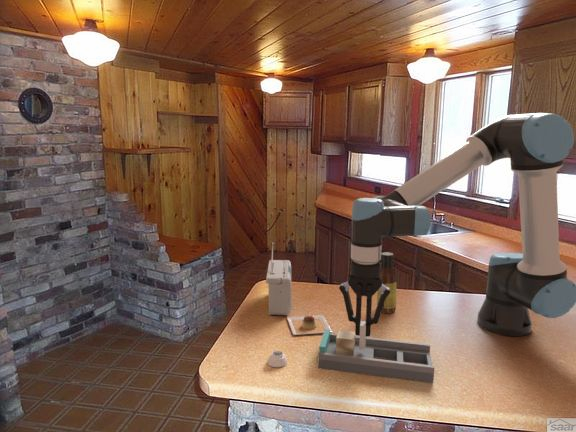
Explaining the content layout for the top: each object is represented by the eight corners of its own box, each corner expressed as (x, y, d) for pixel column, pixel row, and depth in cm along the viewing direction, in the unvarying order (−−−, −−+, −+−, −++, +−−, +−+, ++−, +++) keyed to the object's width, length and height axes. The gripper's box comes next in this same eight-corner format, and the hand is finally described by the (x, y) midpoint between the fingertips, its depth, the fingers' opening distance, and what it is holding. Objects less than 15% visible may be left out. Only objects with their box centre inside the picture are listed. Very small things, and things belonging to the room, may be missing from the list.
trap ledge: (428, 357, 115) (430, 338, 114) (433, 382, 104) (434, 362, 103) (325, 345, 121) (325, 327, 120) (318, 368, 110) (318, 348, 109)
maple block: (354, 347, 115) (355, 331, 114) (353, 355, 111) (353, 339, 110) (337, 345, 116) (338, 330, 115) (335, 353, 112) (336, 337, 111)
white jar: (276, 356, 116) (263, 364, 112) (276, 346, 115) (263, 353, 111) (290, 362, 113) (278, 370, 109) (290, 352, 112) (278, 360, 108)
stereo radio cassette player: (291, 317, 140) (291, 258, 136) (265, 317, 140) (265, 258, 136) (291, 293, 160) (291, 241, 156) (269, 293, 160) (269, 241, 156)
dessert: (332, 335, 129) (333, 320, 128) (293, 338, 127) (293, 323, 126) (322, 318, 140) (323, 304, 139) (286, 320, 138) (286, 306, 137)
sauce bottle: (398, 309, 146) (401, 252, 142) (392, 315, 141) (395, 257, 137) (379, 305, 150) (382, 249, 146) (373, 311, 144) (375, 254, 141)
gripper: (392, 257, 110) (388, 342, 115) (341, 254, 113) (339, 337, 118) (392, 266, 103) (387, 356, 107) (337, 262, 106) (335, 350, 110)
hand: (362, 346), depth 113 cm, fingers closed
